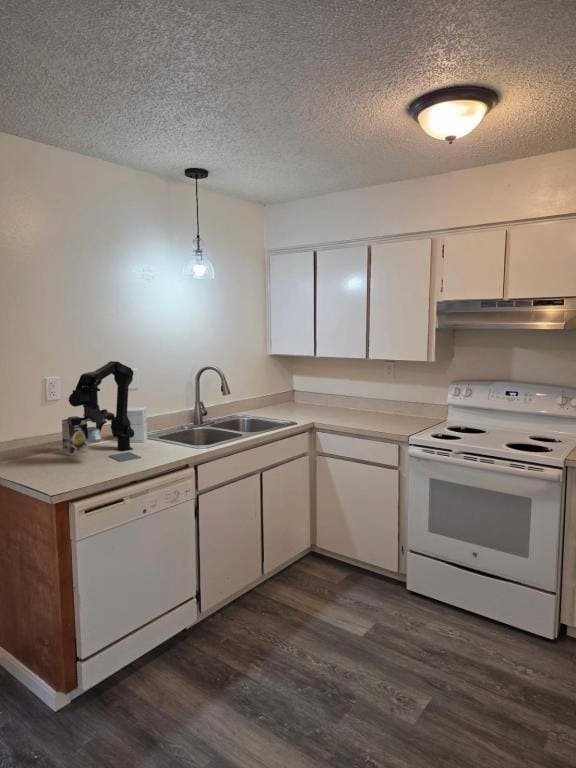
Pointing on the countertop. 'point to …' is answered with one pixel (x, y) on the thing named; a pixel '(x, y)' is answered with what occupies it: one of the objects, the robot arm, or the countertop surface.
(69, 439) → the coffee box
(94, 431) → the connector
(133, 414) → the supplement box
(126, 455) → the mat
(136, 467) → the countertop surface
